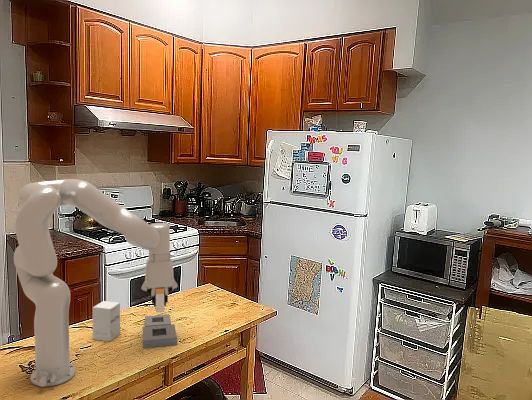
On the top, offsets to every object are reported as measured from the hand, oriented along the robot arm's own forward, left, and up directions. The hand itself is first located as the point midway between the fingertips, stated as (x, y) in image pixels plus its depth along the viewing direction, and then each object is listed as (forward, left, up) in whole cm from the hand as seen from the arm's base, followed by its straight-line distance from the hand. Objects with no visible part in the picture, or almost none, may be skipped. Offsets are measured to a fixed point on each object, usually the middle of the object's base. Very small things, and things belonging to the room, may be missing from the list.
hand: (159, 304), depth 162 cm
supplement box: (+7, +19, -14) cm, 25 cm away
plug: (0, 0, -2) cm, 2 cm away
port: (0, 0, -14) cm, 14 cm away
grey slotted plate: (+14, 0, -14) cm, 19 cm away
